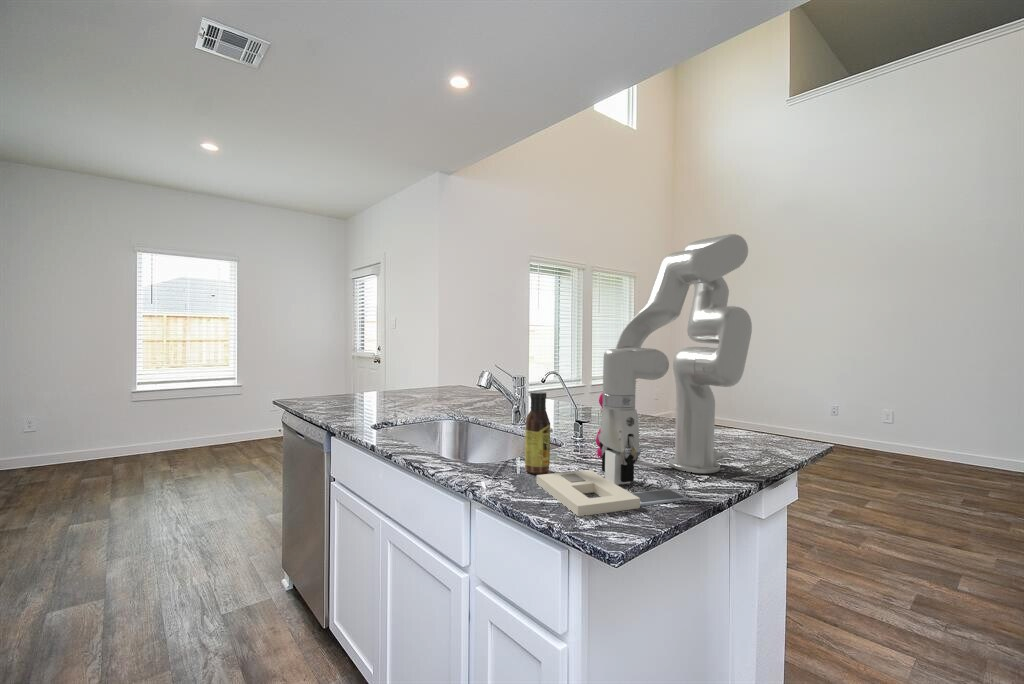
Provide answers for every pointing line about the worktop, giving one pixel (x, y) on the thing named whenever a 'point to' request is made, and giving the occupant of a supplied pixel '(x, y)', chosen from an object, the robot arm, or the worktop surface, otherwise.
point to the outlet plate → (578, 482)
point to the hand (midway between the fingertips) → (617, 475)
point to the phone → (659, 496)
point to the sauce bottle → (537, 436)
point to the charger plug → (613, 466)
